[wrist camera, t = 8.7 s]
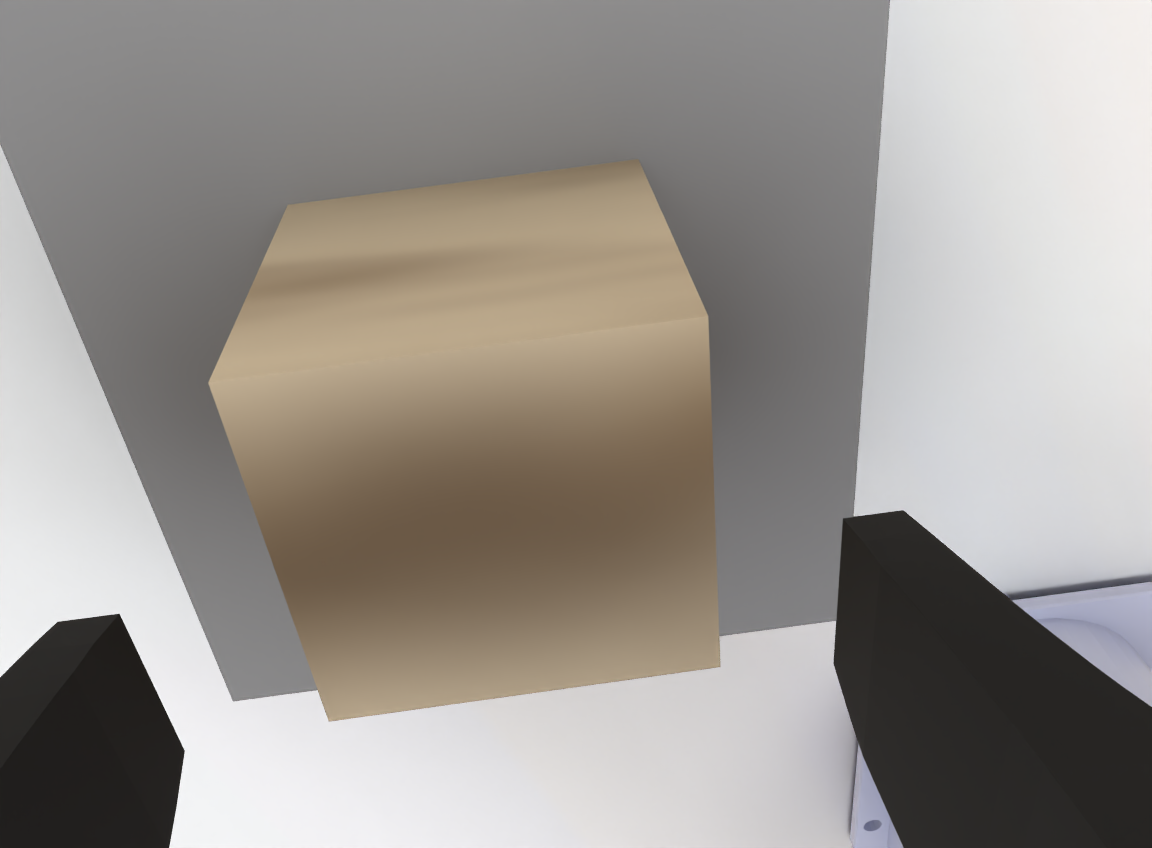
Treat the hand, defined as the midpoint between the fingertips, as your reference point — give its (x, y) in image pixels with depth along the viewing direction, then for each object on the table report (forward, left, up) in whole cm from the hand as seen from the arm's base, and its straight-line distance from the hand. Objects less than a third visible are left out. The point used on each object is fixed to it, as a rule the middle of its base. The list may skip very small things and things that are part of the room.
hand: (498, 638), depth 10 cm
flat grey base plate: (0, 0, -10) cm, 10 cm away
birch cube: (0, 0, -6) cm, 6 cm away
